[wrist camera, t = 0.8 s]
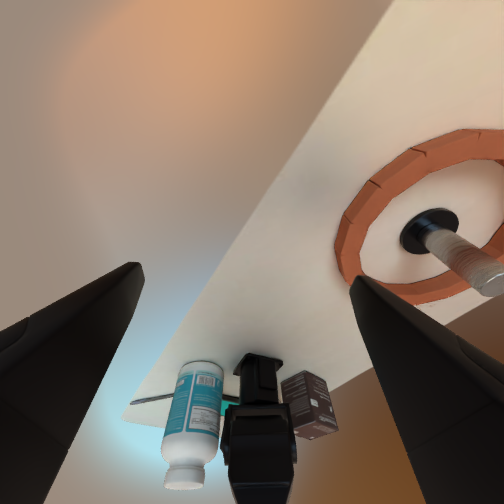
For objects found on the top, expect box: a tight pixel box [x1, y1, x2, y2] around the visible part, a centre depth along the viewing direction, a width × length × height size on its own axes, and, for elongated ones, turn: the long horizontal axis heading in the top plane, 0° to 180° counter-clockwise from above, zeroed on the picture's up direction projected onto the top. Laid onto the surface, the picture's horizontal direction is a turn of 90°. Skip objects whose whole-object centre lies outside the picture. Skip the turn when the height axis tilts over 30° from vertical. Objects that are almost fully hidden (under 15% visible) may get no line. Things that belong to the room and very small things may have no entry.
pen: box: [130, 394, 174, 405], centre depth 42 cm, size 1×1×14 cm
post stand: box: [400, 208, 504, 297], centre depth 18 cm, size 5×5×8 cm
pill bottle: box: [161, 361, 224, 490], centre depth 31 cm, size 8×7×14 cm
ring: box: [335, 129, 504, 305], centre depth 21 cm, size 18×18×2 cm
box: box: [281, 371, 339, 440], centre depth 36 cm, size 6×6×7 cm
